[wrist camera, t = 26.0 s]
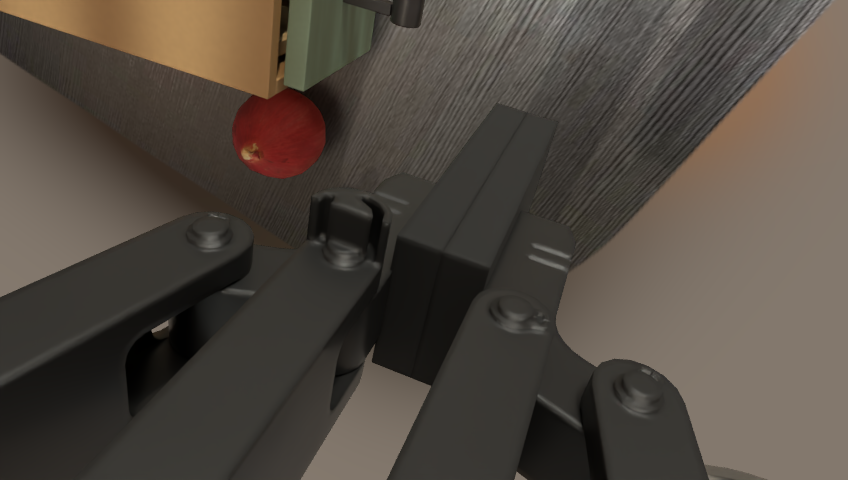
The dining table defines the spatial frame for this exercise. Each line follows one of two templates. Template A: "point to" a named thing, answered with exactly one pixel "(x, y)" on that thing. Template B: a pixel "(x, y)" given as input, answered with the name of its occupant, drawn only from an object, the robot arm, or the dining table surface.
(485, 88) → the dining table surface
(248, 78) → the cabinet
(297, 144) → the red pomegranate
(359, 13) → the drawer
